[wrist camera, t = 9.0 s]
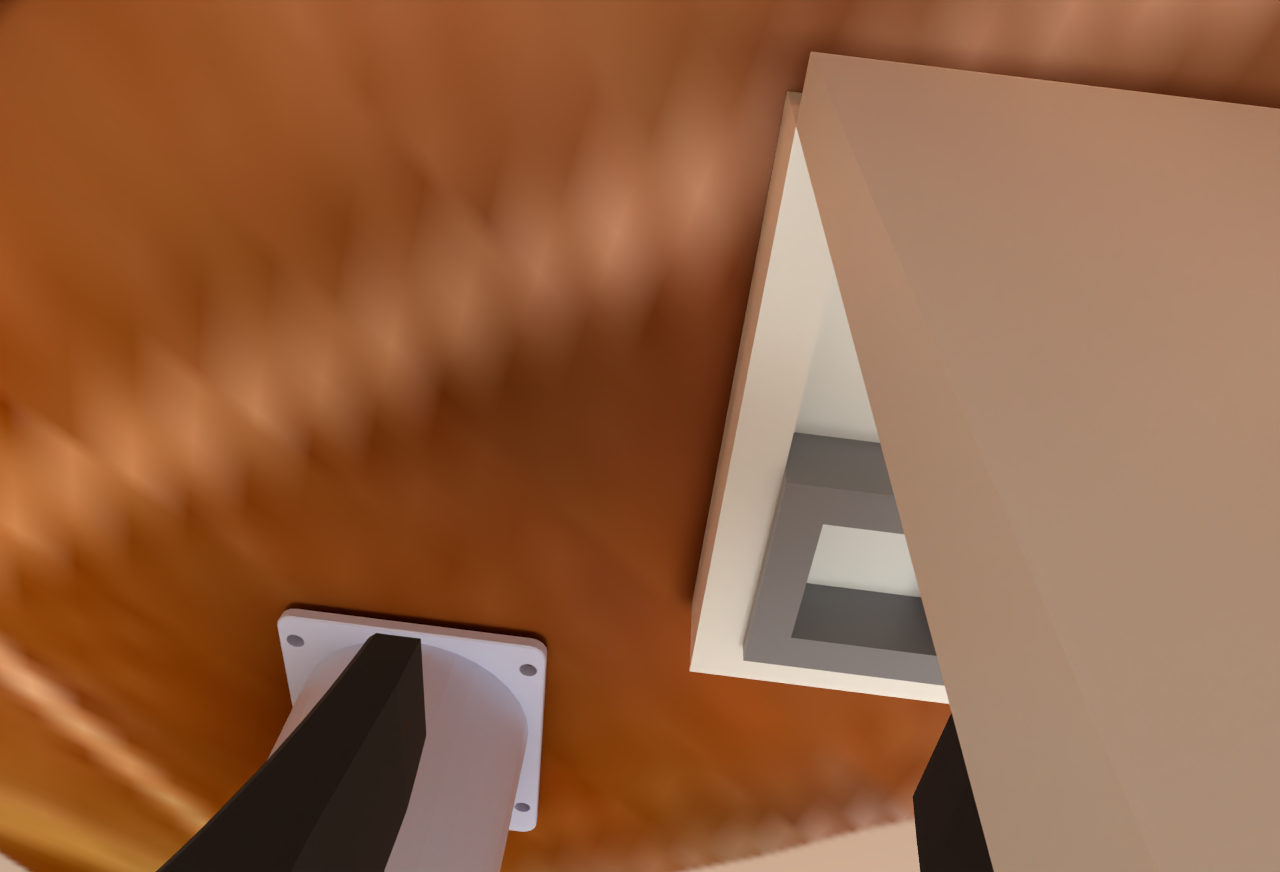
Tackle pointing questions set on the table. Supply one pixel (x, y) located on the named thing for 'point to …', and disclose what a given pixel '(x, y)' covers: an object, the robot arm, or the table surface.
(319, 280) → the table surface
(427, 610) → the table surface
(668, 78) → the table surface
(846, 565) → the equipment case
